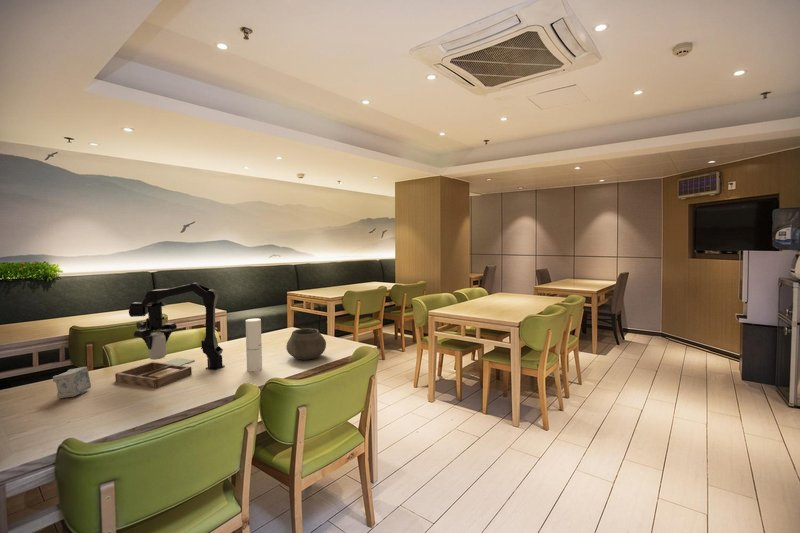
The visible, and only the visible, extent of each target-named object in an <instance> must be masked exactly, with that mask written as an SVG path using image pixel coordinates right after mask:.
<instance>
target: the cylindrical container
mask: <svg viewBox="0 0 800 533" xmlns="http://www.w3.org/2000/svg"><path fill="white" fill-rule="evenodd" d="M262 344H263V343H262V320H261V318H257V317H256V318H249V319H245V346H246V351H245V352H246V371H247V372H250V371H254V372H259V371H261V370H263V356H262V355H263V351H262V349H263V346H262Z"/></svg>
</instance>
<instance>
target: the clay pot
mask: <svg viewBox="0 0 800 533" xmlns="http://www.w3.org/2000/svg"><path fill="white" fill-rule="evenodd" d="M285 347H286V352H287V353H288V354H289V355H290V356H292V357H293V358H294V359H298V360H303V361H304V360H306V361H307V360H312V359H315V358H318V357H320V356H321V355H322V354H323V353H324V352H325V350H326V349H327V340H326V339H325V338H324V336H323V335H322V333H320V331H319V329H318V328H309V327H307V328H299V329H295V330H293V331H292V333H291V335H290V337H289V338H288V341H287V342H286V346H285Z"/></svg>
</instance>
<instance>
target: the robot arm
mask: <svg viewBox="0 0 800 533" xmlns="http://www.w3.org/2000/svg"><path fill="white" fill-rule="evenodd" d="M190 292H193V293H195V294H196V295H197V296H198V297H201V299H202V301H203V305H204V308H205V337H204V338H203V339H201V341H200V342H201V347H200V349H201V350H202V353H203V354H204V355H206V357H207V360H206V361H207V366H206V367H205V369H206V370H211V371H217V370H219V369H223V368H225V365H224V364H223V355H221V354H222V353H223V351H224V349H223V348H222V347H221V346H220V345H219V344H218V339H217V336H216V307H217V302H218V299H219V298H218V297H219V292H218V291H217V290H216V289H212V288H210V287H207V286H205V285H202V284H200V283H198V282H192V283H190V284H184V285H178V286H176V287H171V288H158V289H153V290H149V291H147V292H146V294H145V296H144V299H143V300H142V301H141V302H130V306H129V309H128V315H129V317H131V318H132V317H133V318H134V317H136V318H137V317H146V315H148V318H145V319H146V320H145V321H144V322H143V321H142V320H141V321H137V322H136V330H134V332H133V337H134V338H140V339H142V340H143V341H144V343H145V344H146V347H147V350H148V349H151V347H152V338H153V336H150V334H152V333H158V332H159V333H164V335H165V337H166V344H167V343H168V340H169V339H170V336H171V335H172V333H173V332H174V331H175V330H177V329H178V326H177V324H176V323H173V322H167V323H164V322H163V320H165V316H163V307H165V306H167V303H166V302H164V301H163V299H166V298H169V297H173V296H177V295H182V294H187V293H190Z"/></svg>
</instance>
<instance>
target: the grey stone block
mask: <svg viewBox="0 0 800 533" xmlns="http://www.w3.org/2000/svg"><path fill="white" fill-rule="evenodd" d="M52 382H54V383H55V384H56V389H57V390H56V391H57V393H56V397H57V399H59V400H60V399H64V398H71V397H76V396H78V395H84V393H85V392H86V391H87V390H89V389H91V388H92V384H91V379H90V375H89V370H88V367H87V366H81V367H77V368H70V369H68V370H67V371H66V372H63V373H60V374H58V375H54V376H52Z"/></svg>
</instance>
